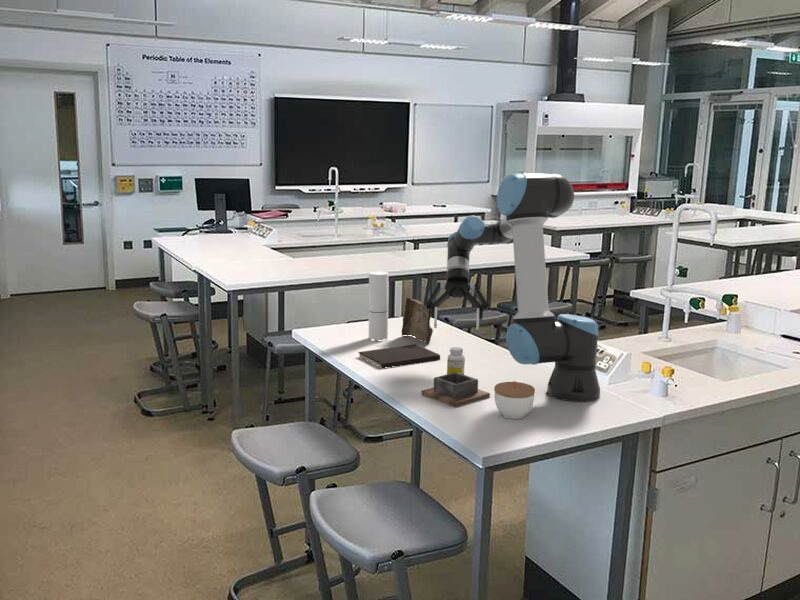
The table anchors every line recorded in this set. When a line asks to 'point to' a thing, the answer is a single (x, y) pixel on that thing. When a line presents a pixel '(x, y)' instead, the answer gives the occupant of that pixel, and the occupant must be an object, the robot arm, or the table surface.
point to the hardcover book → (399, 355)
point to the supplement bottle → (455, 361)
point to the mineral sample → (417, 320)
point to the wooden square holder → (455, 390)
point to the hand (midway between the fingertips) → (456, 326)
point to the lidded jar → (514, 399)
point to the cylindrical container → (378, 305)
